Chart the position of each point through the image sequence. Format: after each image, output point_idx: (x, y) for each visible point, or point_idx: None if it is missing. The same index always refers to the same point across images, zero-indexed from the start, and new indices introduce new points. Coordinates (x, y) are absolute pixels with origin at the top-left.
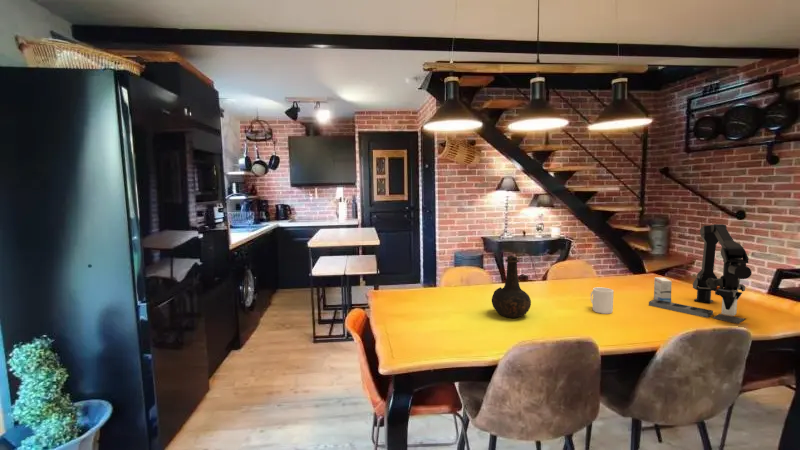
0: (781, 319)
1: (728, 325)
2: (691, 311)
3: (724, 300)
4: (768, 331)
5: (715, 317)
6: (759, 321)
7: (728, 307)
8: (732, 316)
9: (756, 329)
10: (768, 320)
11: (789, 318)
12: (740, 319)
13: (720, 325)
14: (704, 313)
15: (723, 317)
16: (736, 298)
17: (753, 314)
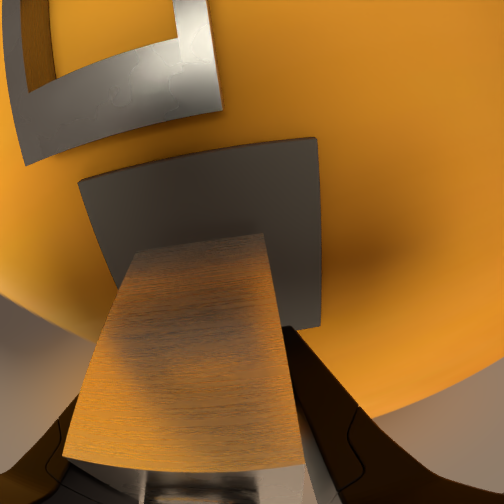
0: (455, 367)
1: (51, 318)
2: (11, 14)
3: (44, 449)
4: None
5: (102, 195)
6: (346, 364)
7: None
8: (311, 258)
9: None
10: (404, 365)
11: (482, 364)
12: None
13: (7, 293)
14: (20, 131)
15: (183, 232)
16: (318, 497)
17: (488, 284)
